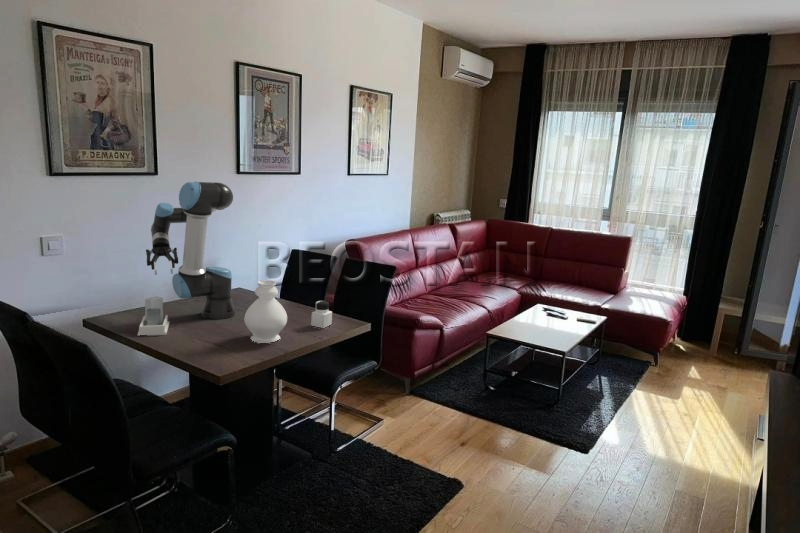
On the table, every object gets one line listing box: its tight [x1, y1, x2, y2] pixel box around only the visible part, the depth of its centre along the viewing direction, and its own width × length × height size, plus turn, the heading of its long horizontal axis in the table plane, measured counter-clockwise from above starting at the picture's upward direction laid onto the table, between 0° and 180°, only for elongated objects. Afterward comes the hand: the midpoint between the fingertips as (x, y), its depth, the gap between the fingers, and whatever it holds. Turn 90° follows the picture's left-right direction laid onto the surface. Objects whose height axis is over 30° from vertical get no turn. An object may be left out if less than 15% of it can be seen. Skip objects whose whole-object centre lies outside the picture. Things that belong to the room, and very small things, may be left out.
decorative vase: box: [243, 279, 288, 344], centre depth 226 cm, size 18×18×25 cm
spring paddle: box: [147, 309, 161, 326], centre depth 229 cm, size 5×1×8 cm, turn 109°
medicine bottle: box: [310, 300, 333, 329], centre depth 250 cm, size 7×7×12 cm
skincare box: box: [144, 295, 164, 325], centre depth 232 cm, size 6×4×12 cm
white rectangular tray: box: [137, 314, 170, 337], centre depth 230 cm, size 11×16×4 cm
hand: (163, 271), depth 239 cm, fingers open, 6 cm apart
